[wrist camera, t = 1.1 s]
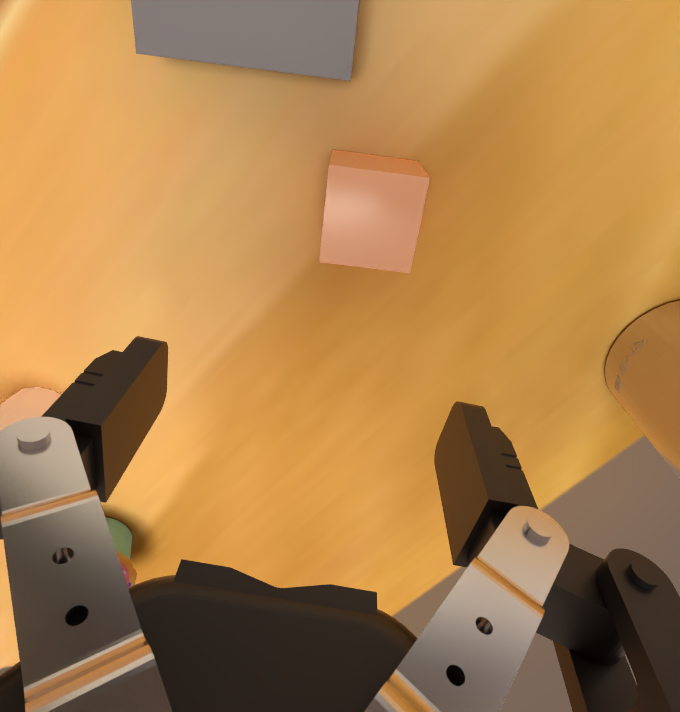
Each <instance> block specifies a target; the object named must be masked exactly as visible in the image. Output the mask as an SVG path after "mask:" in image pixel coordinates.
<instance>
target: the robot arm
mask: <svg viewBox="0 0 680 712" xmlns="http://www.w3.org/2000/svg"><path fill="white" fill-rule="evenodd" d="M167 368H168V345H167V343H166V342H164V341H159V340H154V339H149V338H144V337H139V336H137V337H136V338H135V339H134V340H133V341H132V342H131V343H130V344H129V345H128V347H127V348H126V349H125V350H124V351H123V352H119V351H114V350H112V351H110V352H108V353H106V354H104V355H102V356H100V357H98V358H96V359H95V360H94V361H93V362H92V363H91V364H90V365H89V366H88V367H87V368H86V369H85V370H84V373H81V374H80V376H79V377H78V378H77V379H76V380H75V383H72V384H71V385H70V386H69V387H68V388H67V389H66V390H65V392H64V393H63V394H62V395H61V396H60V397H59V398H58V399H57V400H56V401H55V402H54V403H53V404H52V405H51V406H50V408H49V409H48V410H47V411H46V412H45V413H44V414H43V415H42V416H41V417H32V418H27V419H23V420H20V421H17V422H15V423H13V424H10V425H9V426H7V427H5V428H4V429H3V430H1V431H0V539H4V547H5V554H6V562H7V569H8V576H9V584H10V591H11V599H12V606H13V613H14V621H15V628H16V636H17V643H18V650H19V658H20V662H18V663H17V664H15V665H14V666H13V667H11V668H10V669H8V670H7V671H5V672H4V673H3V674H1V675H0V712H499V711H500V709H501V707H502V705H503V703H504V700H505V698H506V696H507V694H508V692H509V690H510V687H511V685H512V683H513V681H514V679H515V676H516V674H517V672H518V670H519V668H520V666H521V663H522V661H523V659H524V657H525V654H526V652H527V650H528V648H529V645H530V644H531V641H532V639H533V637H534V635H535V633H536V632H537V633H538V634H540V635H543V636H544V637H546V638H548V639H551V640H553V643H554V646H555V650H556V653H557V657H558V661H559V664H560V668H561V671H562V675H563V678H564V681H565V685H566V689H567V692H568V696H569V699H570V703H571V707H572V710H573V712H680V597H679V595H678V593H677V591H676V589H675V588H674V586H673V584H672V583H671V581H670V579H669V578H668V577H667V575H666V574H665V573H664V572H663V571H662V570H661V569H660V568H659V567H658V566H657V565H656V564H654V563H653V562H652V561H650V560H649V559H647V558H646V557H644V556H643V555H641V554H639V553H636V552H634V551H631V550H628V549H615V550H613V551H611V552H610V553H609V555H608V556H607V557H606V558H605V559H602V558H599V557H597V556H595V555H593V554H590V553H588V552H586V551H584V550H582V549H579V548H577V547H575V546H573V545H571V544H569V541H568V538H567V535H566V534H565V532H564V530H563V529H562V527H561V526H560V525H559V524H558V523H557V522H556V521H555V520H554V519H553V518H552V517H550V516H549V515H547V514H546V513H544V512H542V511H540V510H538V507H537V505H536V502H535V500H534V497H533V495H532V492H531V490H530V487H529V485H528V483H527V480H526V478H525V475H524V473H523V471H522V470H521V465H520V463H519V460H518V459H517V458H516V457H517V455H516V453H515V450H514V448H513V445H512V443H511V441H510V440H509V439H508V438H507V436H506V435H505V434H504V433H503V432H502V431H501V430H500V428H497V427H492V426H491V424H490V421H489V418H488V415H487V413H486V410H485V408H484V407H482V406H477V405H472V404H467V403H463V402H456V403H455V404H454V405H453V407H452V409H451V411H450V414H449V416H448V418H447V421H446V423H445V426H444V428H443V430H442V433H441V435H440V437H439V440H438V442H437V445H436V450H435V468H436V474H437V479H438V485H439V490H440V496H441V501H442V506H443V512H444V517H445V523H446V528H447V534H448V539H449V544H450V550H451V555H452V561H453V565H457V566H463V567H468V568H467V569H466V570H465V572H464V573H463V575H462V576H461V578H460V579H459V580H458V582H457V583H456V585H455V586H454V588H453V589H452V590H451V592H450V593H449V595H448V596H447V598H446V599H445V600H444V602H443V603H442V605H441V606H440V607H439V609H438V610H437V612H436V613H435V615H434V616H433V618H432V619H431V620H430V622H429V623H428V625H427V626H426V628H425V629H424V630H423V632H422V633H421V635H420V636H419V637H418V639H417V638H416V637H415V636H414V634H413V633H412V632H410V631H409V630H408V629H407V628H406V627H405V626H404V625H403V624H401V623H400V622H399V621H397V620H396V619H395V618H393V617H391V616H390V615H388V614H386V613H385V612H383V611H381V610H378V609H377V592H372V591H366V590H360V589H354V588H348V587H342V586H336V585H330V584H329V585H317V586H305V587H293V588H277V587H274V586H271V585H269V584H267V583H264V582H262V581H260V580H258V579H255V578H253V577H251V576H248V575H246V574H244V573H242V572H239V571H237V570H235V569H233V568H230V567H224V566H218V565H212V564H206V563H200V562H194V561H188V560H182V559H181V562H180V565H179V567H178V570H177V573H176V575H172V576H164V577H159V578H154V579H151V580H147V581H144V582H141V583H139V584H136V585H134V586H132V587H129V588H128V586H127V583H126V580H125V577H124V574H123V571H122V568H121V565H120V562H119V558H118V555H117V552H116V549H115V546H114V543H113V540H112V537H111V534H110V531H109V528H108V525H107V521H106V518H105V515H104V512H103V509H102V506H101V503H100V502H107V500H108V498H109V497H110V495H111V493H112V492H113V490H114V488H115V487H116V485H117V483H118V482H119V480H120V478H121V477H122V475H123V473H124V472H125V470H126V468H127V467H128V465H129V463H130V462H131V460H132V458H133V457H134V455H135V453H136V451H137V450H138V448H139V446H140V445H141V443H142V441H143V440H144V438H145V436H146V435H147V433H148V431H149V430H150V428H151V426H152V425H153V423H154V421H155V420H156V418H157V416H158V415H159V413H160V411H161V409H162V407H163V404H164V401H165V397H166V392H167ZM605 378H606V383H607V385H608V387H609V389H610V391H611V393H612V394H613V395H614V397H615V398H616V399H617V400H618V402H619V403H620V404H621V405H622V407H623V408H624V409H625V410H626V412H627V413H628V414H629V415H630V417H631V418H632V419H633V420H634V422H635V423H636V424H637V426H638V427H639V428H640V430H641V431H642V432H643V433H644V435H645V436H646V437H647V438H648V440H649V441H650V442H651V443H652V445H653V446H654V447H655V449H656V450H657V451H658V452H659V454H660V455H661V456H662V457H663V459H664V460H665V461H666V462H667V464H668V465H669V466H670V467H671V469H672V470H673V471H674V472H675V474H676V475H677V476H678V477H679V479H680V300H679V301H675V302H671V303H668V304H665V305H663V306H660V307H658V308H655V309H653V310H651V311H650V312H648V313H646V314H645V315H643V316H641V317H640V318H638V319H637V320H636V321H635V322H633V323H632V324H631V325H630V326H628V327H627V328H626V329H625V331H624V332H623V333H622V334H621V335H620V336H619V337H618V338H617V340H616V342H615V343H614V345H613V346H612V348H611V350H610V352H609V355H608V358H607V360H606V366H605ZM625 654H626V655H627V658H628V660H629V663H630V665H631V668H632V670H633V673H634V675H635V678H636V682H637V685H636V683H635V680H634V678H633V675H632V673H631V670H630V668H629V665H628V663H627V660H626V658H625Z"/></svg>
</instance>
